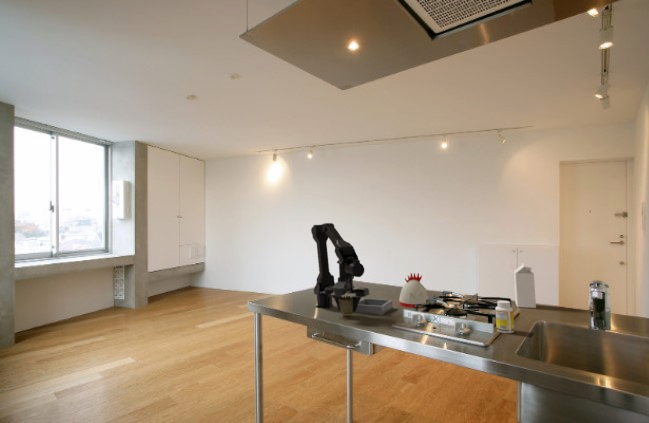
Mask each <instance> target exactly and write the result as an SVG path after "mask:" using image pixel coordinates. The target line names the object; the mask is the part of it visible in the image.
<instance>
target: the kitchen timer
mask: <svg viewBox="0 0 649 423" xmlns="http://www.w3.org/2000/svg"><path fill="white" fill-rule="evenodd" d="M422 278H423V276H422V275H420V273H417V275H416V273H415V272H413V274H412V272H411V273H410V275H407V278H406V277H404V280H405V283H404V285H403V286H402V288H401V290H400V293H399V302H398V305H399V306H401V307H405V308H414V307H415V305H417V304H425V303H426V300H427V299H429V300H430V298H429V295H428V291H427V288H426V287H425V286H424V285H423V284H422V283H421V280H422ZM407 279H408V280H407ZM414 309H415V308H414Z"/></svg>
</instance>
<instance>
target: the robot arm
mask: <svg viewBox="0 0 649 423" xmlns="http://www.w3.org/2000/svg"><path fill="white" fill-rule="evenodd" d="M310 231H311V232H310V233H311V236H312V239H313V240H314V241H315V243H316V251H317V253H316V254H317V262H318V272H319V273H318V274H317V277H316V284H315V285H314V287H313V293H314V295H316V305H315V308H319V309H322V308H323V309H329V308H331V307H334V304H333V300H334V301H335V304H336V306H337V309H338V311H339V312H341V310H340V307H339V301H338V298H339V297H341V296H342V297H343V296H345V294H353V295H354V296H351V297H352V298H353V311H354V312H353V313H355V312H356V309H357V306H358V303H359V301H360V300H362V298H366V297H367V296H369V295H370V290H369V288H368V287H358V288H355V285H354V279H355V278H361V277H362V276H363V275H364V273H365V266H364V265H363V264H362V263H361V260H359V256H358V255H357V252H356V250H355V248H354V246H353V245H352V244H351V243H350V242H349V241H346V240H344V238H343V237H342V236H341V234H340V233H339V232H338V230H337V229H336V227H335V225H334V223H332V222H331V223H330V222H326V223H322V224H313V226H312V227H311V230H310ZM328 239H329V241H330V242H331V243H332V245H333V247H334V253H335V256H336V257H337V259H338V260H337V261H336V263H337V264H338V270H339V272H338V273H339V274H338V275H339V276H338V277H337V282H336V283H335V277H334V276H335V275H333V274H332V273H331V272H330V264H329V254H328V245H327V242H328Z"/></svg>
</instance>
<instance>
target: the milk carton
mask: <svg viewBox="0 0 649 423" xmlns="http://www.w3.org/2000/svg"><path fill="white" fill-rule="evenodd" d="M513 284H514V297H515V298H514V300H515V301H514V302H515V305H516V307H517V308H527V309H529V308H530V309H537V303H536V302H537V300H536V286H535V285H536V284H535V274H534V272H532V267H530V266H529V265H527V266H525V263H523V262H521V265H520V266H519V267H518V268H516V269H515V270H514V271H513Z"/></svg>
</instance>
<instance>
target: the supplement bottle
mask: <svg viewBox="0 0 649 423" xmlns="http://www.w3.org/2000/svg"><path fill="white" fill-rule="evenodd" d="M496 305H497V306H495V309H494V310H495V324H496V330H497V331H498V332H499V333H502V334H503V333H504V334H513V333H514V332H515V318H514V309H513V307H512V306H511V301H509V300H497V304H496Z"/></svg>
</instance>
